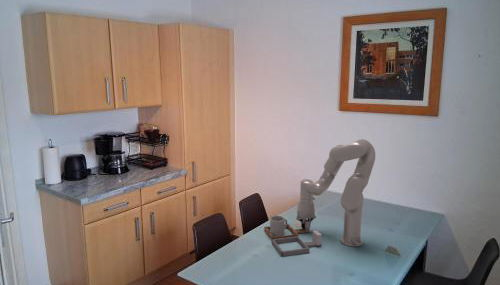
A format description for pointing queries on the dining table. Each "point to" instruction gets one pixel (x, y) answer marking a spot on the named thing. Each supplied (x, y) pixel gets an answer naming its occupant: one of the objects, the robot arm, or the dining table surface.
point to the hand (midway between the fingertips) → (305, 228)
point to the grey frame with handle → (315, 242)
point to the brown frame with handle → (294, 232)
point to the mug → (277, 225)
